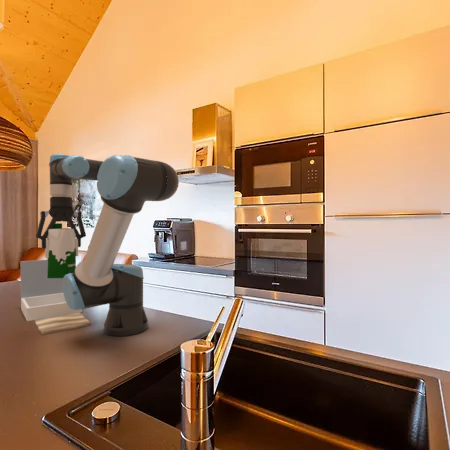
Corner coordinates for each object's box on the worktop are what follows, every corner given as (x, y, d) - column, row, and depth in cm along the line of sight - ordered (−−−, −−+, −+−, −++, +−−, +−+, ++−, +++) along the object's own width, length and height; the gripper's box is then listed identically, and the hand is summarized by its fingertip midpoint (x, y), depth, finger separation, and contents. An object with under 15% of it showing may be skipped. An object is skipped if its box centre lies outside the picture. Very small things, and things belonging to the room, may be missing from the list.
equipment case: (82, 312, 135) (81, 262, 135) (27, 321, 123) (26, 266, 123) (67, 299, 157) (67, 256, 157) (19, 306, 145) (18, 260, 144)
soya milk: (56, 274, 124) (56, 223, 124) (79, 274, 124) (79, 223, 124) (43, 278, 115) (42, 223, 115) (68, 278, 115) (67, 223, 115)
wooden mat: (90, 325, 118) (90, 322, 118) (41, 334, 109) (41, 331, 109) (79, 315, 131) (79, 312, 131) (34, 322, 121) (34, 320, 121)
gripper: (89, 198, 129) (89, 254, 129) (25, 196, 115) (26, 258, 116) (94, 197, 123) (95, 255, 123) (28, 194, 110) (29, 259, 110)
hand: (61, 256), depth 120 cm, fingers closed on soya milk, 9 cm apart
